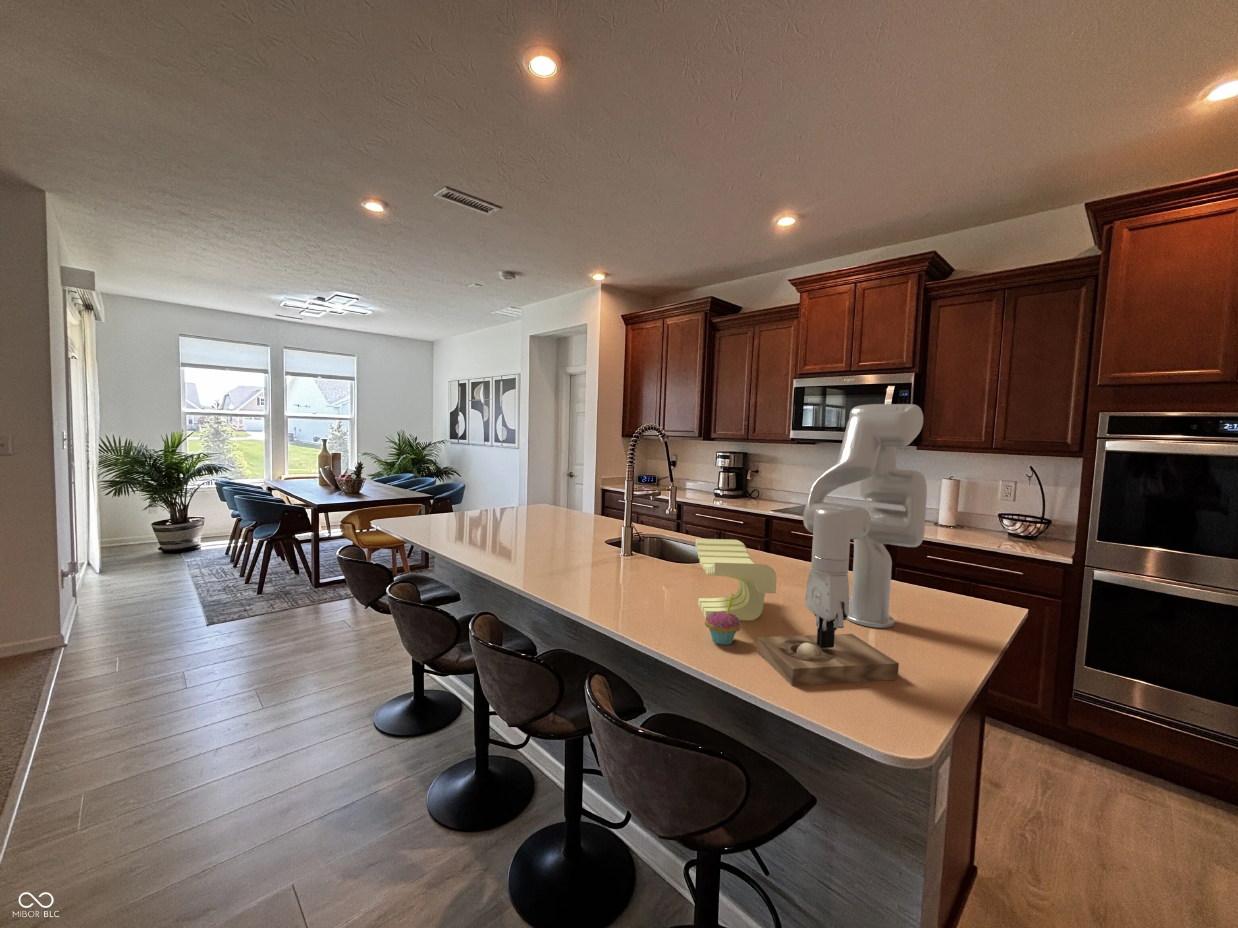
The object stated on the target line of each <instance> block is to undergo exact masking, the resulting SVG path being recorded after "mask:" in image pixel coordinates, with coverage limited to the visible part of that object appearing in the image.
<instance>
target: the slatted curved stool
mask: <svg viewBox="0 0 1238 928" xmlns="http://www.w3.org/2000/svg"><path fill="white" fill-rule="evenodd" d="M695 549H696V553H697V554H698V557H697V558H698V560H699V564H700V566H701V567H702V569H703V571H705V573H706V575H707V576H714V577H715V576H716V577H718V576H719V577H728V578H732V579H736V580H737V581H738V590H737V591H736V592H735V593H733V595H732V594H731V595H732V596H733V598H732V603H731V608H730V613H732V614H733V615H735V616H736V617H737V618H739V619H740V621H754V620H756V619H758V618H759V617H760V616H761V614H762V612H763V610H764V603H765V596H766V594H776V592H777V574H776V572H775V569H774V568H773V567H771V566H770V564H766V563H755V562H753V560H752V556H750V552H749V551H748V548H747V547H746V545H745V544H744V543H743V542H742V541H740V540H738V539H724V538H720V539H719V538H718V539H717V538H695ZM731 595H730V596H731ZM730 596H725V597H724V596H723V597H714V598H712V597H710V598H707V597H706V598H704V597H702V598H701V597H699V598H698V602H697V604H698V607H699V608H700V610H701V612H702V614H703V616H704V618H705V619H706V617H707V616H708V615H709V614H711V613H713V612H720V611H726V612H727V609H728V604H729V599H730Z"/></svg>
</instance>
